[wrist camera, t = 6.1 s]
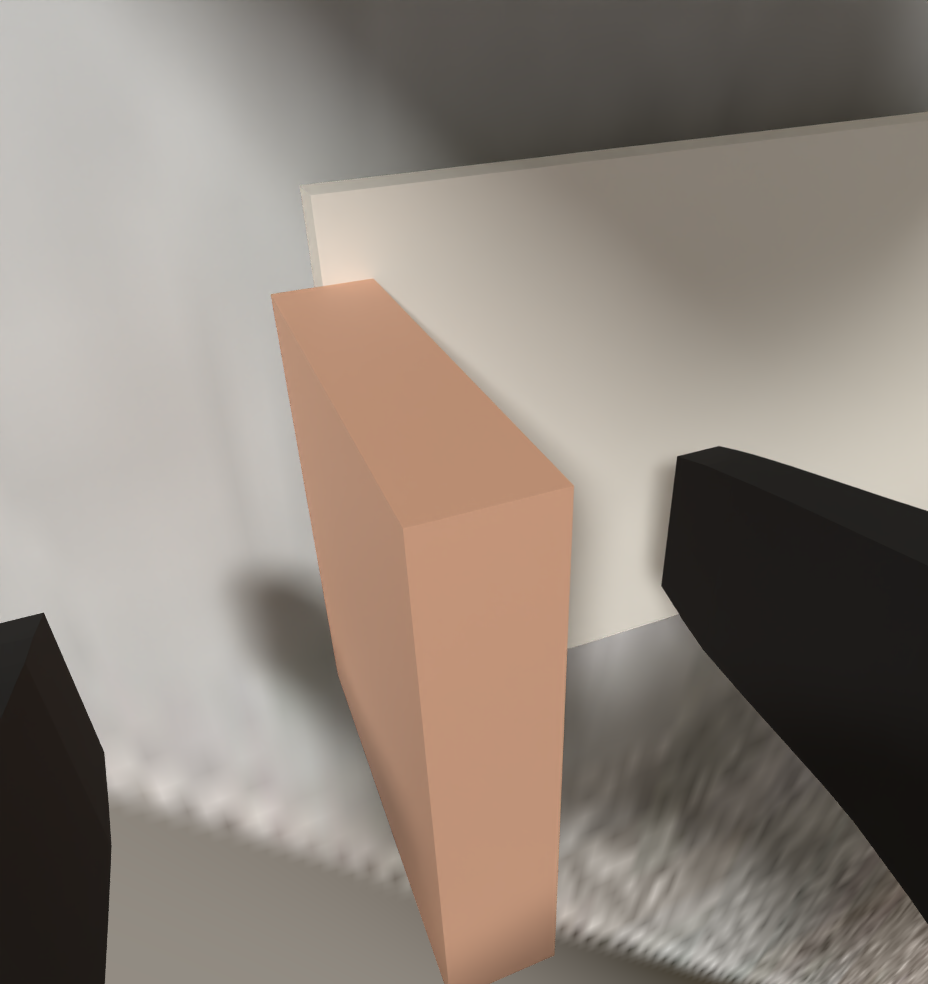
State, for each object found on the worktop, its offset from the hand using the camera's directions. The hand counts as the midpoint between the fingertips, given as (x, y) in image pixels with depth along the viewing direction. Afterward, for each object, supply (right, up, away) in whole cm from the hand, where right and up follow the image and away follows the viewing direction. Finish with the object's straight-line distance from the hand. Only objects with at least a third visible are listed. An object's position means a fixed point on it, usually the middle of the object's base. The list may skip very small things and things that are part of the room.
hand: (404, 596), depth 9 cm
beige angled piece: (+5, +3, +4) cm, 7 cm away
